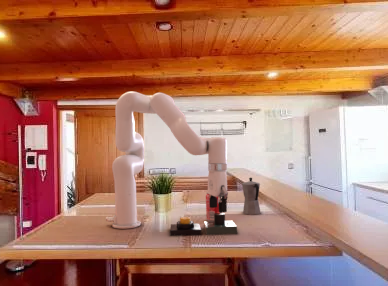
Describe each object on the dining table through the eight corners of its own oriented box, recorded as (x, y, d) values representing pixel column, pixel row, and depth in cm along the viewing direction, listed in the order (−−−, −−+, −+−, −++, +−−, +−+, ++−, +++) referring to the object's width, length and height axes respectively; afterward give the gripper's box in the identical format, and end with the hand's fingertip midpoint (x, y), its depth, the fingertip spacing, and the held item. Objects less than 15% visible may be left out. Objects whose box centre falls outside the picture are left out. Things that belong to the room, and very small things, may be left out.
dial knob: (227, 224, 128) (226, 213, 128) (216, 225, 127) (216, 214, 127) (222, 222, 132) (222, 211, 133) (212, 222, 131) (212, 212, 131)
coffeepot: (238, 211, 169) (237, 176, 169) (255, 210, 170) (254, 176, 170) (249, 217, 153) (248, 179, 154) (268, 216, 155) (267, 178, 155)
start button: (180, 224, 128) (180, 219, 128) (180, 222, 132) (180, 217, 132) (190, 224, 128) (190, 219, 128) (189, 221, 132) (189, 216, 132)
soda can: (221, 222, 145) (220, 193, 145) (205, 222, 146) (204, 193, 146) (222, 218, 151) (221, 191, 152) (207, 218, 153) (206, 191, 153)
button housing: (170, 236, 125) (170, 225, 125) (170, 229, 135) (170, 219, 135) (201, 235, 125) (200, 224, 125) (199, 228, 135) (199, 219, 135)
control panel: (206, 235, 125) (206, 226, 125) (204, 228, 135) (203, 221, 135) (237, 234, 125) (236, 226, 125) (232, 227, 135) (232, 220, 135)
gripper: (201, 166, 138) (201, 206, 137) (217, 169, 121) (217, 214, 121) (218, 166, 139) (218, 205, 139) (235, 168, 123) (235, 213, 123)
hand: (217, 209), depth 130 cm, fingers open, 9 cm apart
